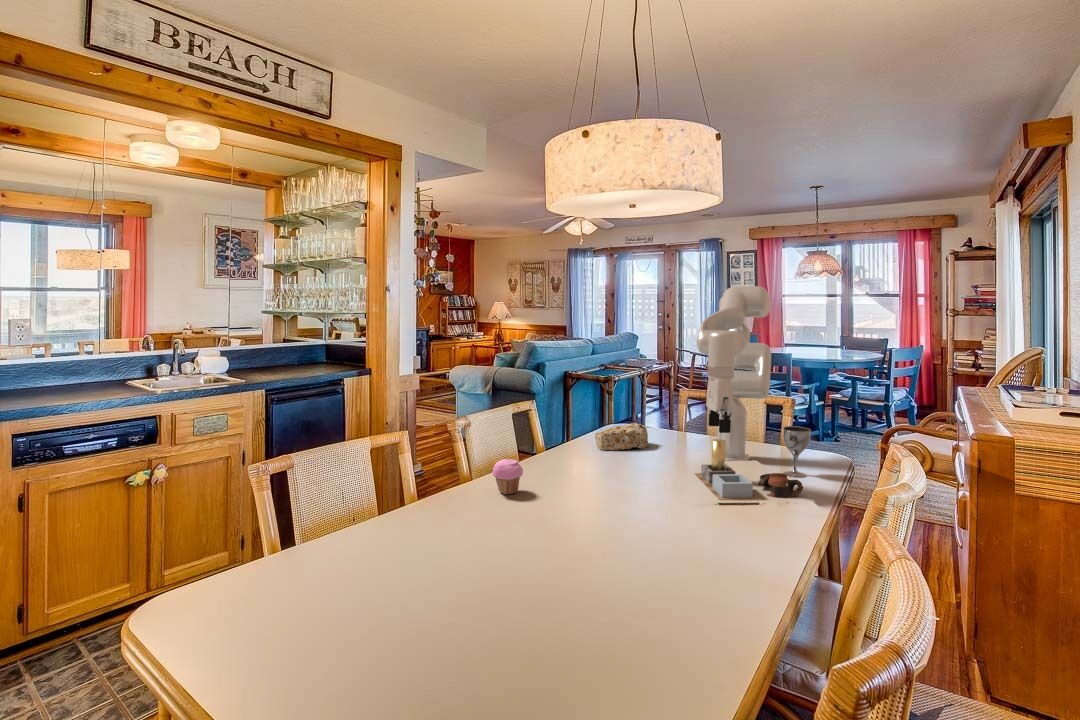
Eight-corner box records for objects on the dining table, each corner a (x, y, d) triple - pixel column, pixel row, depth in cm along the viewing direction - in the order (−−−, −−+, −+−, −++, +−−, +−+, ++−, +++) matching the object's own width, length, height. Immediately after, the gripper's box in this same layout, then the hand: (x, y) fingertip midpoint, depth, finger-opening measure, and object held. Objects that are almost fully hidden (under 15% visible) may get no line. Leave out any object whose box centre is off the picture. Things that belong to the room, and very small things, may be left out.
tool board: (694, 478, 176) (694, 462, 176) (728, 477, 176) (729, 462, 176) (719, 505, 152) (720, 487, 152) (759, 505, 153) (760, 487, 152)
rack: (712, 487, 162) (712, 474, 162) (741, 487, 163) (741, 474, 162) (722, 497, 154) (722, 483, 154) (752, 497, 154) (752, 483, 154)
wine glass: (793, 479, 175) (795, 432, 173) (776, 471, 183) (777, 426, 181) (814, 476, 177) (816, 430, 176) (796, 469, 185) (798, 425, 183)
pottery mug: (756, 502, 156) (753, 473, 159) (765, 508, 163) (761, 480, 166) (803, 499, 150) (798, 469, 153) (809, 505, 157) (804, 476, 160)
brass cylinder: (709, 477, 172) (710, 439, 171) (722, 477, 172) (723, 439, 171) (713, 481, 168) (714, 442, 167) (726, 481, 168) (727, 442, 167)
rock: (601, 455, 207) (597, 428, 208) (594, 454, 221) (590, 429, 223) (654, 447, 210) (650, 420, 211) (643, 446, 224) (639, 421, 225)
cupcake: (527, 494, 162) (527, 460, 161) (500, 499, 158) (500, 465, 157) (514, 485, 170) (513, 453, 169) (487, 490, 165) (487, 457, 164)
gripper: (699, 370, 175) (698, 423, 177) (717, 376, 158) (716, 435, 160) (723, 370, 176) (721, 423, 177) (744, 376, 158) (742, 435, 160)
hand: (719, 429), depth 168 cm, fingers open, 9 cm apart
